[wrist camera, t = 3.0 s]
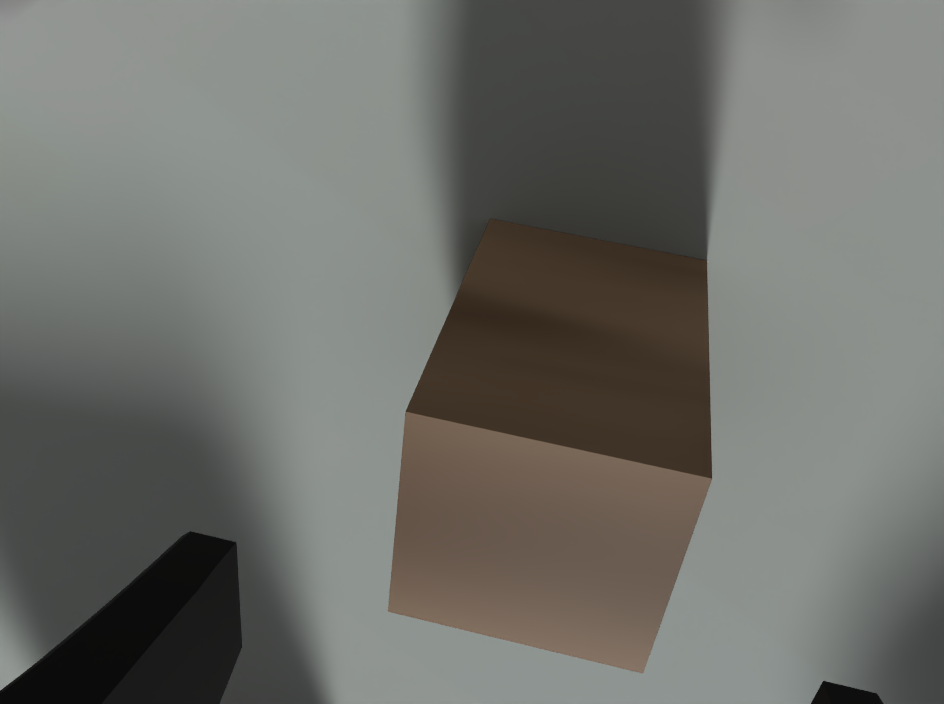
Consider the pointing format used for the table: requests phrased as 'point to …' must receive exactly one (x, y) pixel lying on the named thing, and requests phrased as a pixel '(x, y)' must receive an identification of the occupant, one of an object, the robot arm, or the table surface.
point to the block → (557, 446)
